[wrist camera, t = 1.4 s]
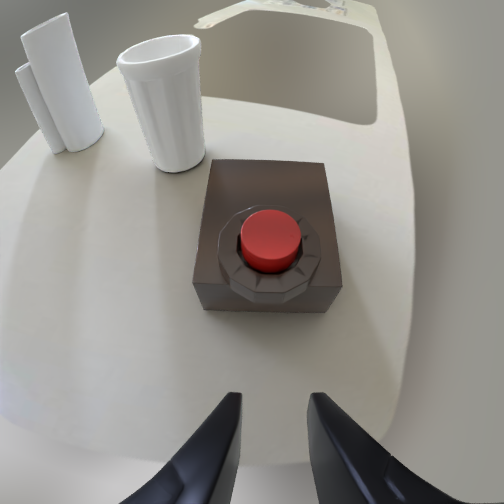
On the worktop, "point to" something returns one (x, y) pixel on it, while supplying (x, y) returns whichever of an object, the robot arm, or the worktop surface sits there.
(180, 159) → the cup
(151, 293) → the worktop surface
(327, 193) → the switch block
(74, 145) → the vase
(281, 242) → the led button
